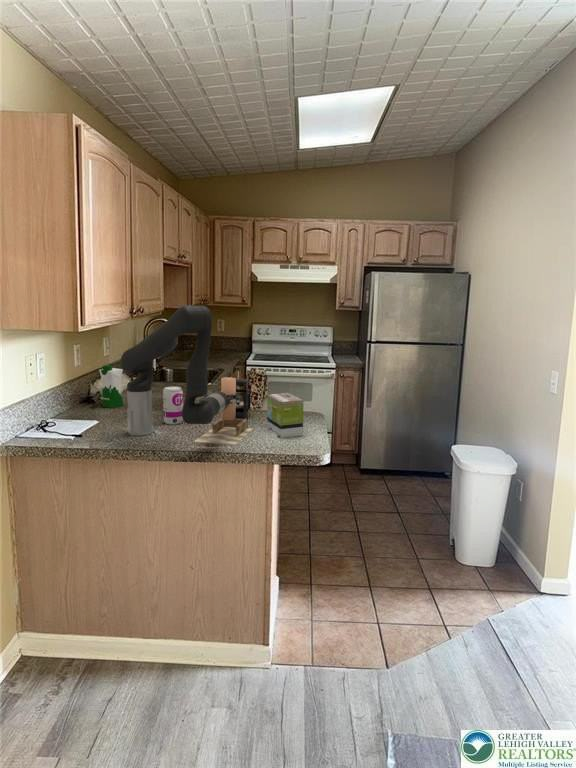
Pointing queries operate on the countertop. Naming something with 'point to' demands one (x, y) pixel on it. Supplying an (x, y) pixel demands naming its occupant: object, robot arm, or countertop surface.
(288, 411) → the tea box
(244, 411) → the french press
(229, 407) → the dome-topped peach cylinder
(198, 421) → the robot arm
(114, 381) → the milk carton
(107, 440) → the countertop surface
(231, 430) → the dock
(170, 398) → the supplement can
